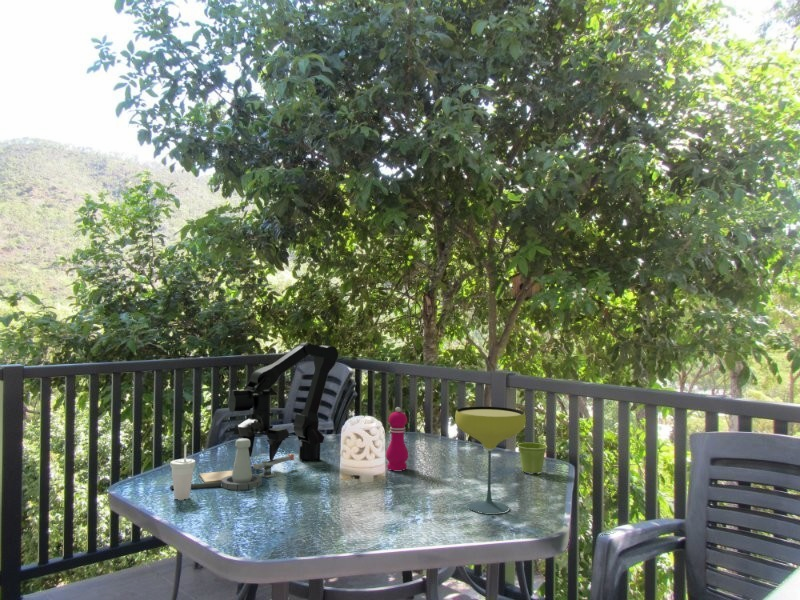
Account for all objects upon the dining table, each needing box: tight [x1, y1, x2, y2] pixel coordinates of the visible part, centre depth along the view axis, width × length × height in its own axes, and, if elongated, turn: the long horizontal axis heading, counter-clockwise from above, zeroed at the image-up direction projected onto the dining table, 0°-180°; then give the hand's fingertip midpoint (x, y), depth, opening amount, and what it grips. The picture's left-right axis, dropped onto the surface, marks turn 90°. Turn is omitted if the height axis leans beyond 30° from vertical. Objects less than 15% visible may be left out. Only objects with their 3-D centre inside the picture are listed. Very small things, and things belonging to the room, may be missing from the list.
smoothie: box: [169, 444, 196, 501], centre depth 166 cm, size 6×6×14 cm
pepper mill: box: [385, 406, 409, 470], centre depth 202 cm, size 7×7×20 cm
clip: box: [252, 453, 295, 470], centre depth 193 cm, size 17×3×2 cm, turn 150°
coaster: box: [198, 469, 233, 483], centre depth 187 cm, size 10×10×1 cm
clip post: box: [258, 467, 276, 479], centre depth 190 cm, size 5×5×3 cm
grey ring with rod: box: [169, 474, 263, 491], centre depth 178 cm, size 25×11×2 cm, turn 107°
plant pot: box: [516, 442, 548, 473], centre depth 200 cm, size 9×9×9 cm
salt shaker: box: [232, 438, 253, 483], centre depth 180 cm, size 6×6×13 cm
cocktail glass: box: [454, 406, 527, 513], centre depth 162 cm, size 18×18×25 cm
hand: (260, 458), depth 201 cm, fingers open, 9 cm apart
